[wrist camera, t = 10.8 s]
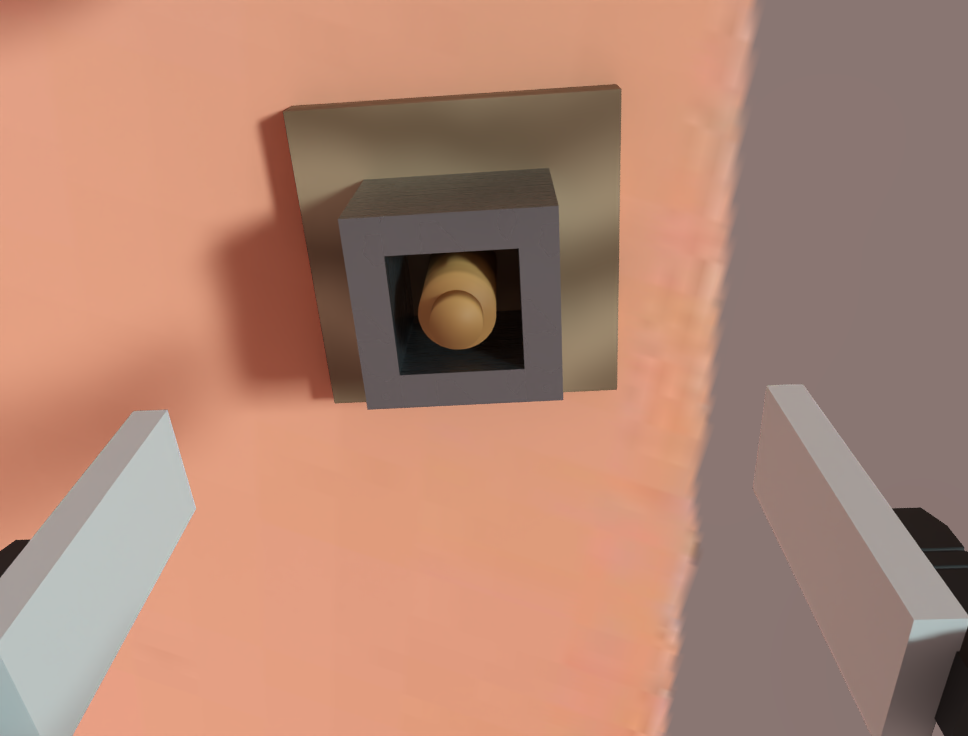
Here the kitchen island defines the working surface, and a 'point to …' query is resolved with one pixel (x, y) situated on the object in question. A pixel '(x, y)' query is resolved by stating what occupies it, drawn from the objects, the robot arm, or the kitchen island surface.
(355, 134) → the square plate
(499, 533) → the kitchen island surface
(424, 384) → the hollow square block
